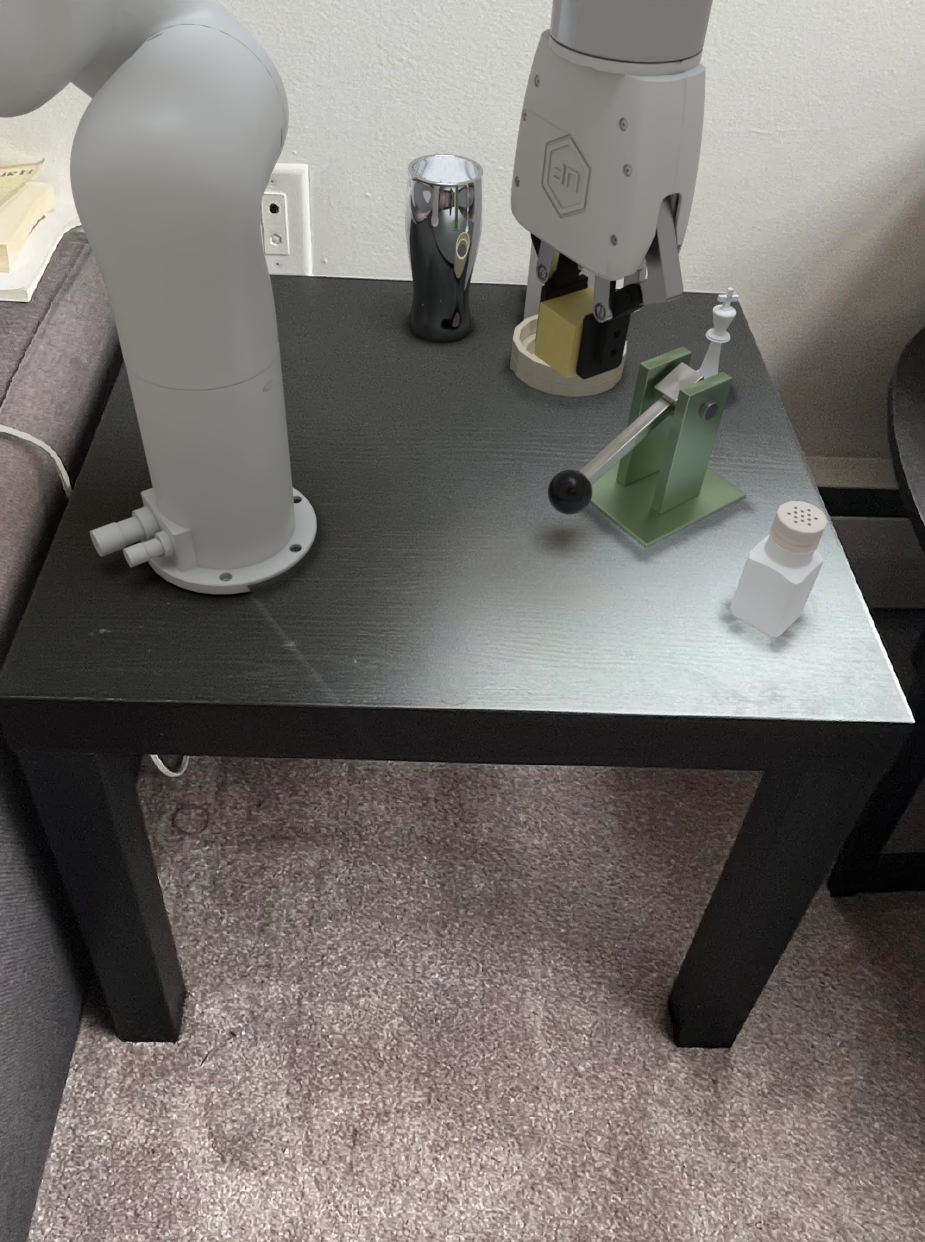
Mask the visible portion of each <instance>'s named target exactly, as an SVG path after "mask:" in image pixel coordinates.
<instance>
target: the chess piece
mask: <svg viewBox="0 0 925 1242" xmlns="http://www.w3.org/2000/svg"><path fill="white" fill-rule="evenodd" d="M734 291H735V289H734V288H733V287H726V290H725V294H718V295H717V298H716V300H717V302H718V303H722V304H717V305H715V306H713V308H712V320H713V322H712V323H713V324H712V325H713V327H712V328H709V329H707V331H706V333H705V337H706V339H707V340H709V341H710V342H709V345H708V348H707V350H706V352H705V355H704V358H703V361H702V362H701V365H700V368H699V369H696V370H695V371H697V372H698V373H700V374H702V375H703V376H704V379H706V378H709V377H711V376H713V375H716V374H718V373H719V364H720V357H721V350H722V344H726V343H728V342H730V340H731V335H730V332H728V331H727V329H728V328H729V326H730V325H731V323H732V321H734V319H735V317H736V315H737V311H736V308H734V307H733V306H731V302H733V303H734V302H739V298H740V296H739V294H737V293H734Z"/></svg>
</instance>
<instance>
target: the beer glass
mask: <svg viewBox="0 0 925 1242" xmlns="http://www.w3.org/2000/svg"><path fill="white" fill-rule="evenodd" d="M406 180H407V181H406V189H405V200H404V201H405V208H404V223H405V224H404V230H405V240H406V248H407V254H408V259H409V264H410V265H409V266H410V272H411V278H412V279H411V280H412V288H413V289H412V302H411V307H410V312H409V316H408V328H409V330H410V332H411V333H412V334H413V335H415V336H416V337H418V338H420V339H422V340H426V341H429V342H433V343H449V342H455V341H459V340H460V339H463V338H464V337H466V336H467V335H468V334H469V333H470V331H471V329H472V319H471V311H470V302H469V301H470V300H469V299H470V297H469V295H470V286H471V282H472V281H471V280H472V278H473V277H472V276H473V272H474V270H475V269H474V268H475V266H476V265H475V264H476V261H477V257H478V253H479V248H480V242H481V237H482V232H483V231H482V230H483V222H484V221H483V220H484V168H483V166H482V165H481V164H480V163H478V162H477V161H476V160H474V159H471V158H469V157H467V156H462V155H457V154H450V153H434V154H433V153H432V154H425V155H421V156H418V157H416V158H414V159H413V160H411V161H410V162H409V164H408V166H407V179H406Z"/></svg>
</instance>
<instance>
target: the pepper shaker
mask: <svg viewBox="0 0 925 1242" xmlns="http://www.w3.org/2000/svg"><path fill="white" fill-rule="evenodd" d="M828 522H829V521H828V518H827V517H826V514H825V512H823V511H822V510H821V509H820V508H818V507H817V506H816V505H814V504H811V503H808V502H805V501H802V500H799V501H798V500H789V501H786V502H784V503H781V504H780V505H779V506H778V509H777V511H776V513H775V516H774V519H773V521H772V524H771V527H770V528H769V532H768V535H766V536H765V537H763V539H761V540H760V541H759V542H758V543H757V544H756V545H755V546H754V547H753V548H752V549H751V550H750V551H749V553H748V555H747V557H746V560H745V564H744V566H743V569H742V571H741V574H740V577H739V579H738V580H739V581H738V583H737V586H736V588H735V592H734V595H733V598H732V600H731V603H730V606H729V610H728V611H729V612H730V613H731V615H733V616H735V617H736V618H738V619H739V620H741V621H743V622H744V623H746V624H747V625H749V626H751V627H753V628H754V629H756V630H757V631H759V632H761V633H762V634H764V635H766V636H767V637H771V638H774V639H775V638H778V637H781V636H782V635H783V634H784V633H785V632H786V631H787V630H788V628H790V627H791V626H792V625H793V624H794V623H795V622H796V621H797V620H798V619H799V618H800V617H801V616H802V613H803V612H804V611H803V610H804V609H805V606H806V604H807V601H808V599H809V596H810V594H811V592H812V590H813V588H814V586H815V584H816V580H817V578H818V576H819V574H820V572H821V569H822V566H823V565H824V558H823V556H822V555H821V553H820V552H819V551H818V550H817V549H818V548H819V545H820V541H821V539H822V537H823V534H824V532H825V529H826V527H827V524H828Z"/></svg>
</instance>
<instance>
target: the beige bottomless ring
mask: <svg viewBox="0 0 925 1242" xmlns="http://www.w3.org/2000/svg"><path fill="white" fill-rule="evenodd" d="M523 320H524V319H523ZM523 320H522V321H521V322H520V323H519V324H517V325H516V326H515V327H514V330H513V336H512V340H511V351H510V352H511V353H510V361H509V369H510V371H513V372H514V374H515V377H517V378H518V379H519V380H521V381H522V382H523V383H525V385H528V386H529V387H530V388H533V389H535V390H537V391H540V392H544V393H546V394H548V395H554V396H560V397H562V396H563V397H571V398H578V397H579V398H580V397H589V396H596V395H599V394H601V393H604V392H606V391H608V390H611V389H613V388H614V387H615V386H616V385H617V384H618V383H619V382H620V381H621V380H622V377H623V372H624V368H625V361H626V356H627V348H628V346H627V345H628V341H627V340H626V342H625V347H624V353H623V358H622V362H621V364H620V366H619V367H618V368H616V369H613V370H610V371H607V372H604V373H602V374H599V375H596V376H593V377H590V378H588V379H582V378H581V377H579V376H578V375H575V376H572V377H570V378H565V377H563V376H562V375H561V374H560V373H558V372H557V371H556V370H554V369H553V368H552V367H550V366H549V365H548V364H546V363H545V362H544V361H542V360H541V359H540V358H538V357H537V356H536V355H535V354H534V353H535V344H536V343H535V339H536V331H537V322H538V314H537V315H534V316H531V317H528V318H526V319H525V320H524V321H523Z"/></svg>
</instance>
